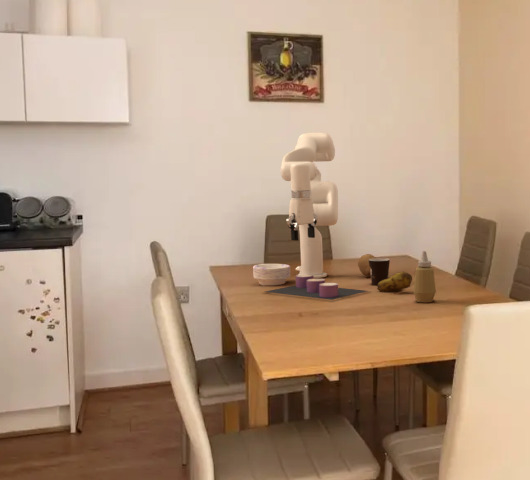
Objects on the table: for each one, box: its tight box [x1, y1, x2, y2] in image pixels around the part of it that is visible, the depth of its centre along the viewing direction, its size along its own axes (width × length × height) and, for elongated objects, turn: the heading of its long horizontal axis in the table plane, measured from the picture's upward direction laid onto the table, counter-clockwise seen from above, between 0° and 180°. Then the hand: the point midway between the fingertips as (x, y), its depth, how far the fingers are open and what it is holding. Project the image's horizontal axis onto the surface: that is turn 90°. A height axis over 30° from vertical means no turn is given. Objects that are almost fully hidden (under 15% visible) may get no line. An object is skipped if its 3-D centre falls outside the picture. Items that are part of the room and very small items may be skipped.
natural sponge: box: [357, 253, 377, 278], centre depth 336 cm, size 9×9×10 cm
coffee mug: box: [369, 257, 391, 286], centre depth 318 cm, size 12×9×10 cm
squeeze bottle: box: [413, 250, 437, 304], centre depth 275 cm, size 8×8×18 cm
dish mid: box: [306, 278, 326, 293], centre depth 298 cm, size 7×7×4 cm
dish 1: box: [295, 274, 315, 288], centre depth 310 cm, size 7×7×4 cm
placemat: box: [264, 284, 368, 301], centre depth 299 cm, size 34×22×1 cm, turn 55°
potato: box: [377, 271, 413, 293], centre depth 296 cm, size 8×13×8 cm, turn 72°
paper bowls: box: [252, 263, 291, 286], centre depth 319 cm, size 15×15×8 cm
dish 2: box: [319, 282, 339, 298], centre depth 287 cm, size 7×7×4 cm
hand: (303, 238), depth 306 cm, fingers open, 9 cm apart
